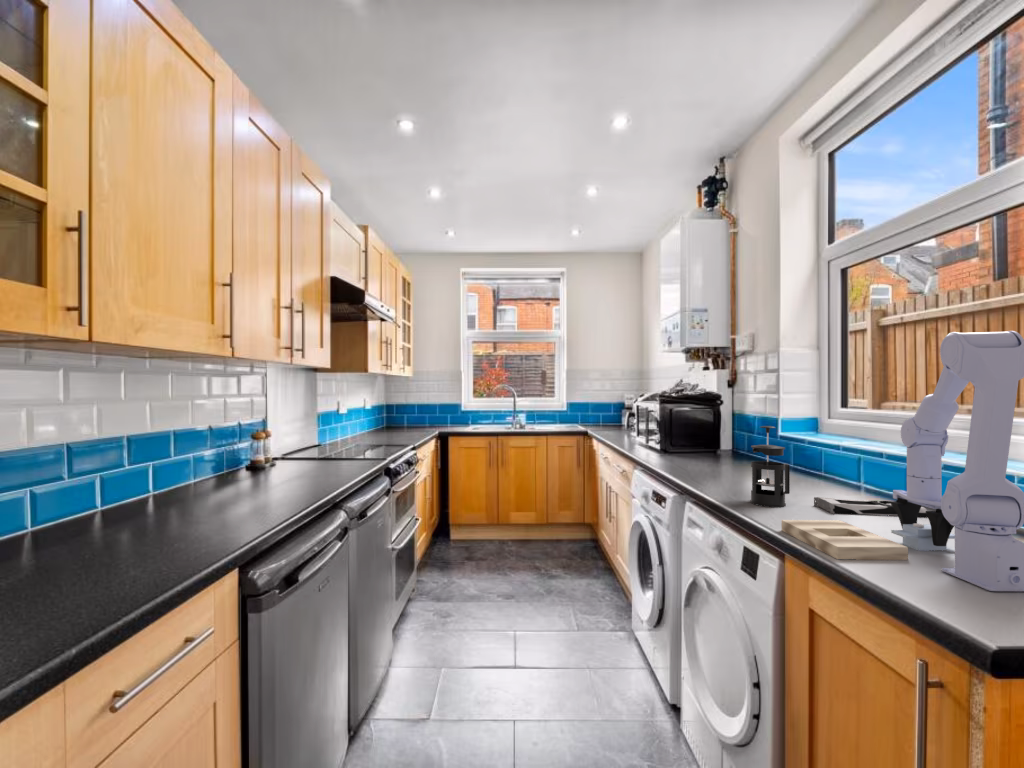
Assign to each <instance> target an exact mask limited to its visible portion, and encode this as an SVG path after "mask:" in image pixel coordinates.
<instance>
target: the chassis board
mask: <svg viewBox="0 0 1024 768" xmlns="http://www.w3.org/2000/svg"><path fill="white" fill-rule="evenodd" d="M781 532H783V533H786V535H789V536H792V537H794V538H795V539H797V540H799V541H801V542H803V543H805V544H807V545H809V546H810V547H812V548H815V549H817V550H819V551H821V552H822V553H824V554H826V555H828V556H830V557H831V558H834V559H836V560H838V559H856V560H858V561H859V560H860V561H861V560H862V561H863V560H864V561H866V560H868V561H878V560H880V561H908V560H909V547H908V546H906V545H903V544H902V543H898V542H895V541H893V540H891V539H888V538H885V537H884V536H881V535H879V534H875V533H873V532H870V531H868V530H865V529H863V528H860V527H858V526H855V525H852V524H850V523H848V522H845V521H843V520H837V519H835V520H833V519H831V520H829V519H828V520H827V519H826V520H825V519H822V520H821V519H781Z"/></svg>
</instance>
